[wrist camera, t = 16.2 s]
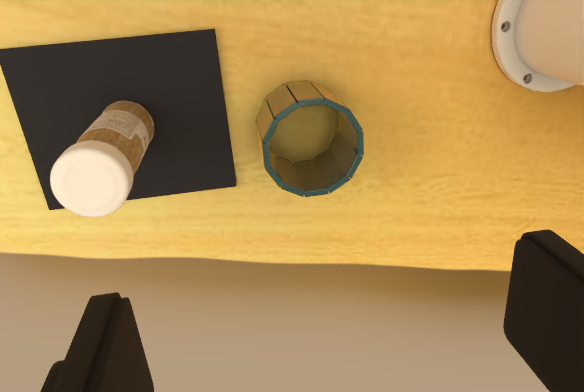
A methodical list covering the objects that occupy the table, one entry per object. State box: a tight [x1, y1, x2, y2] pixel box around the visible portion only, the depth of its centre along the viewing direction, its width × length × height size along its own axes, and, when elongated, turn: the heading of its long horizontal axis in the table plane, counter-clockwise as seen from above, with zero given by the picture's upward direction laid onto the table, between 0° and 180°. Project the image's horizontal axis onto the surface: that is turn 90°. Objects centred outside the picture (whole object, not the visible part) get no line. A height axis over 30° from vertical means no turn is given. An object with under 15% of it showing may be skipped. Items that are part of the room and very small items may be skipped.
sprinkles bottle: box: [50, 100, 154, 217], centre depth 34 cm, size 5×4×14 cm
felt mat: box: [0, 29, 236, 210], centre depth 40 cm, size 17×14×1 cm
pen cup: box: [256, 81, 364, 197], centre depth 40 cm, size 8×8×7 cm
